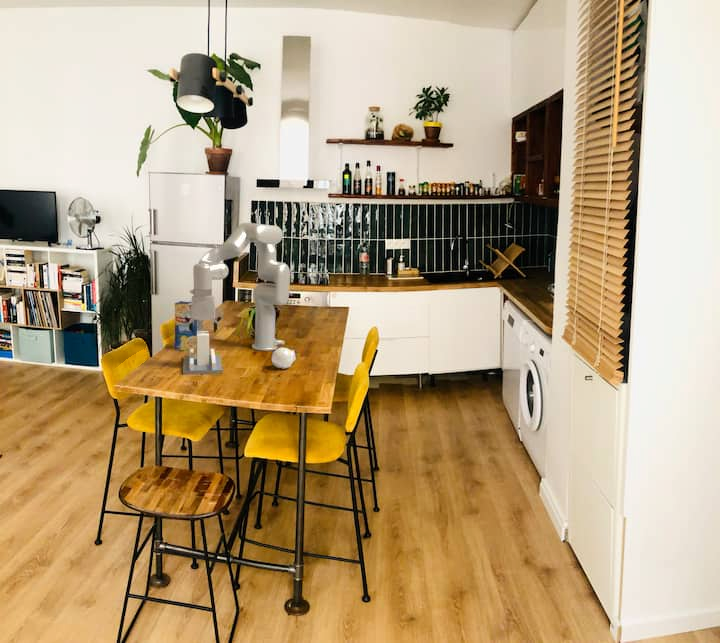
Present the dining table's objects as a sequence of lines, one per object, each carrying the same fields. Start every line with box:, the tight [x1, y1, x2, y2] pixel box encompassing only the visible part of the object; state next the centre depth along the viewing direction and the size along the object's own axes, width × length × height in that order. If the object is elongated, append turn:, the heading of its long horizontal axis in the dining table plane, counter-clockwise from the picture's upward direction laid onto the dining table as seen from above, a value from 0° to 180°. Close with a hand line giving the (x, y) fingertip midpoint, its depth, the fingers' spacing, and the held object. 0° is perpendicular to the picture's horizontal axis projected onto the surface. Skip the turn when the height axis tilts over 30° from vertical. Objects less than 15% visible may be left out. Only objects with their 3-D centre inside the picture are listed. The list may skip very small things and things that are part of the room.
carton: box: [195, 330, 210, 365], centre depth 307 cm, size 5×9×13 cm, turn 14°
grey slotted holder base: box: [182, 348, 224, 375], centre depth 308 cm, size 16×26×4 cm, turn 13°
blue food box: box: [174, 300, 203, 352], centre depth 336 cm, size 7×11×22 cm, turn 80°
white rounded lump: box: [271, 346, 298, 370], centre depth 312 cm, size 9×10×15 cm
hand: (203, 332), depth 306 cm, fingers open, 9 cm apart
